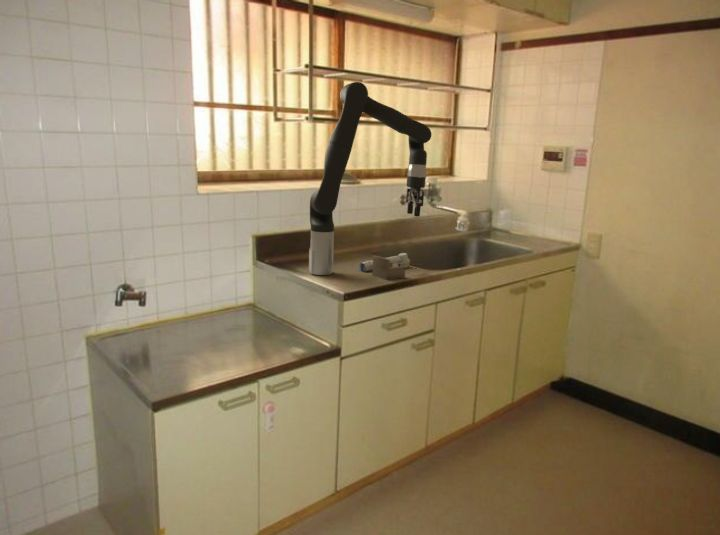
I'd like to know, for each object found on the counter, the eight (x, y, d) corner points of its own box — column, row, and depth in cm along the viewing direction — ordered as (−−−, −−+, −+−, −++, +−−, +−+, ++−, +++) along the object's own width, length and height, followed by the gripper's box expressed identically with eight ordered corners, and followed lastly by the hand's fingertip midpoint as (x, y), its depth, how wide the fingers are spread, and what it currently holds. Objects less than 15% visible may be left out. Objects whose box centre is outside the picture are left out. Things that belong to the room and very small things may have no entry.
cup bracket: (386, 280, 208) (387, 259, 207) (372, 274, 216) (373, 255, 214) (404, 277, 214) (405, 258, 212) (390, 272, 221) (391, 253, 219)
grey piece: (357, 261, 223) (404, 249, 236) (358, 276, 225) (405, 263, 238) (364, 264, 219) (412, 251, 232) (366, 279, 221) (412, 266, 234)
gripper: (402, 174, 225) (399, 212, 228) (413, 176, 211) (410, 216, 215) (419, 175, 227) (415, 213, 230) (431, 177, 213) (427, 217, 217)
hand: (413, 215), depth 223 cm, fingers open, 8 cm apart
